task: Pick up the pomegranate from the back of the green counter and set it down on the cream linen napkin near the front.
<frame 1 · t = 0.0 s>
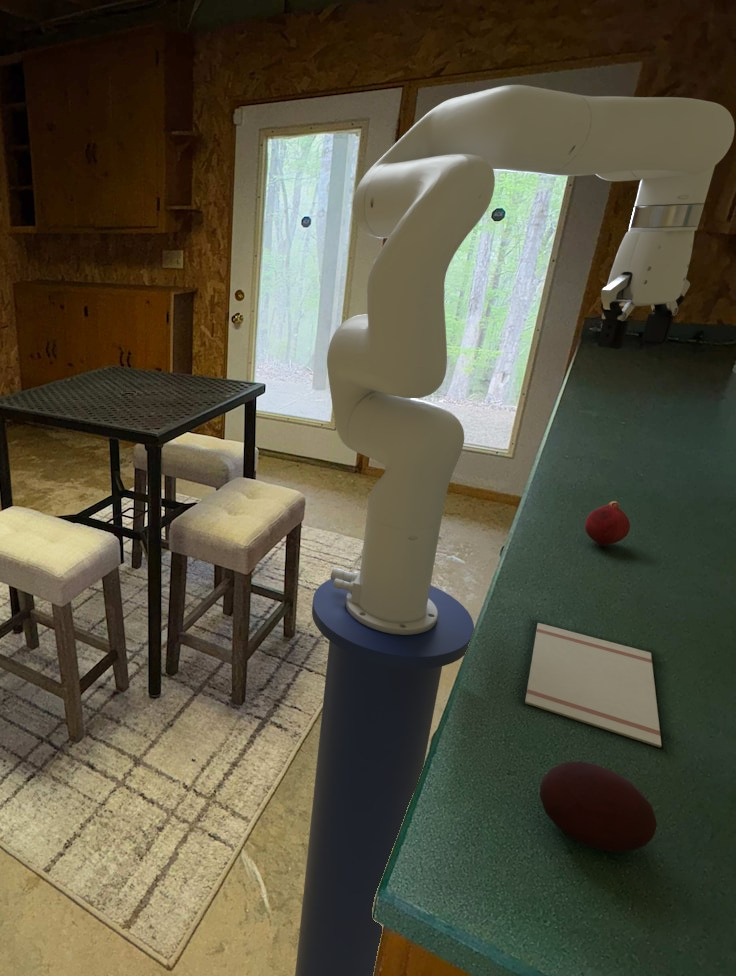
hand: (631, 344, 92), 33 cm above the kitchen counter, tool pointing down, fingers open, 9 cm apart
napkin: (590, 677, 74), on the kitchen counter
pomegranate: (600, 546, 103), on the kitchen counter
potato: (586, 829, 55), on the kitchen counter
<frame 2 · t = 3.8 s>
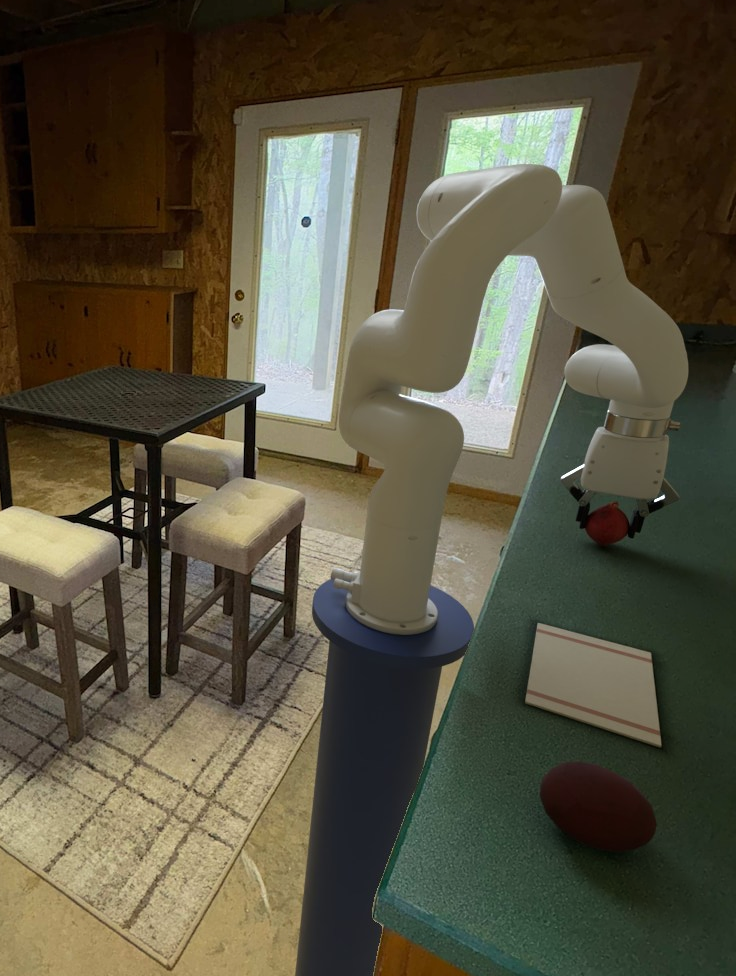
hand: (605, 529, 102), 3 cm above the kitchen counter, tool pointing down, fingers closed on pomegranate, 5 cm apart
pomegranate: (600, 546, 103), on the kitchen counter, touching gripper
everything else where it was.
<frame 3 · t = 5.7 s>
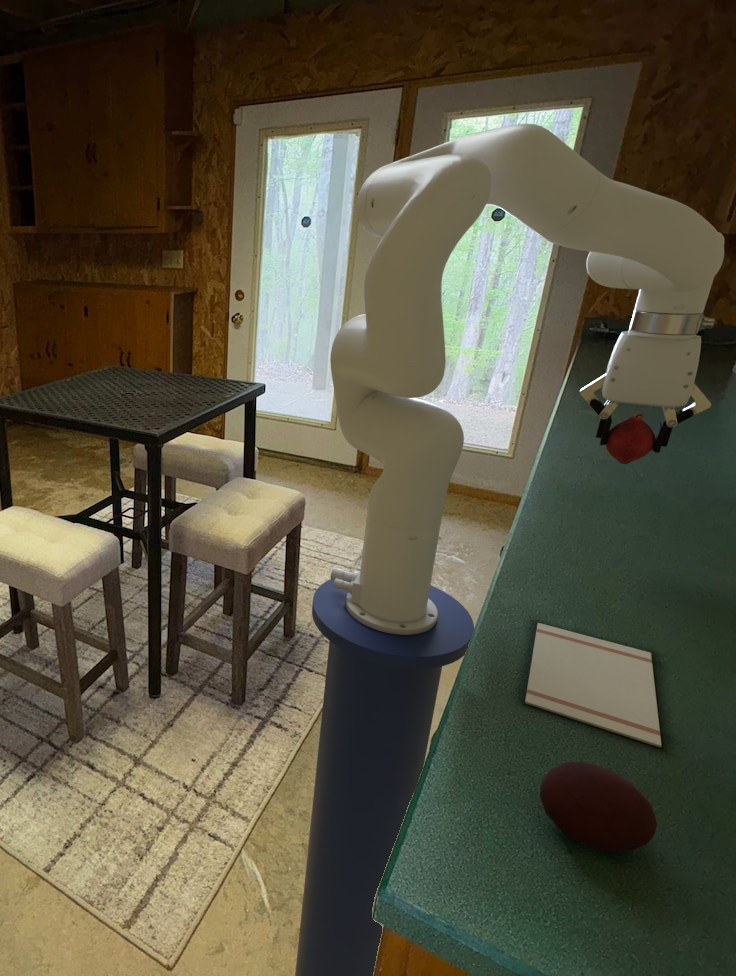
hand: (628, 445, 94), 19 cm above the kitchen counter, tool pointing down, fingers closed on pomegranate, 5 cm apart
pomegranate: (622, 465, 95), point 15 cm above the kitchen counter, touching gripper
everything else where it was.
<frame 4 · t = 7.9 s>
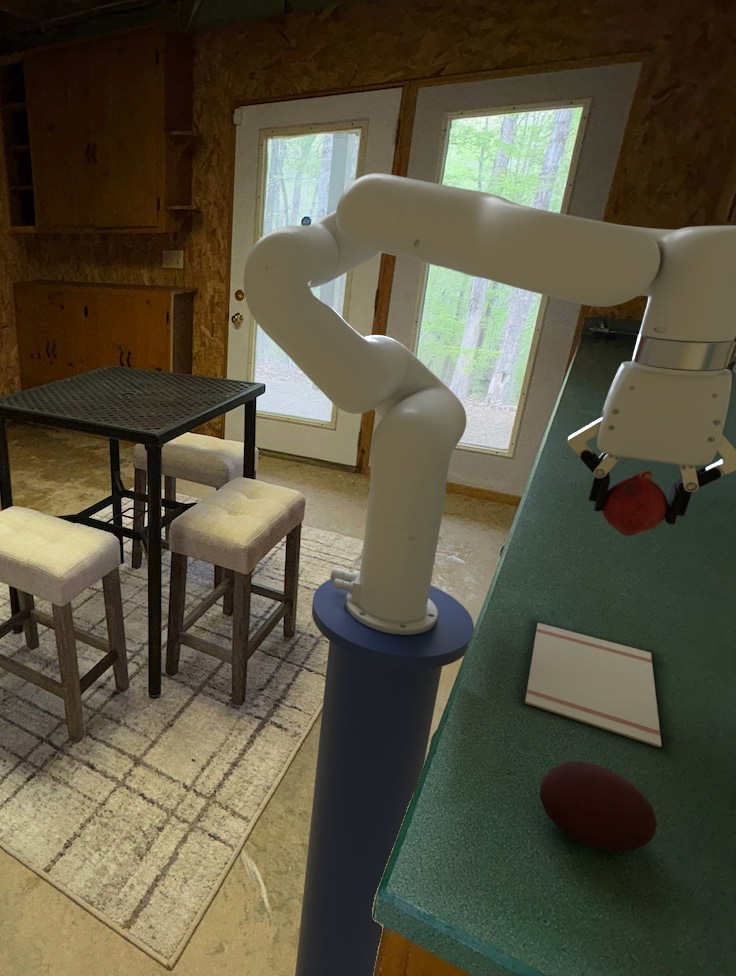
hand: (632, 511, 71), 19 cm above the kitchen counter, tool pointing down, fingers closed on pomegranate, 5 cm apart
pomegranate: (624, 536, 72), point 16 cm above the kitchen counter, touching gripper
everything else where it was.
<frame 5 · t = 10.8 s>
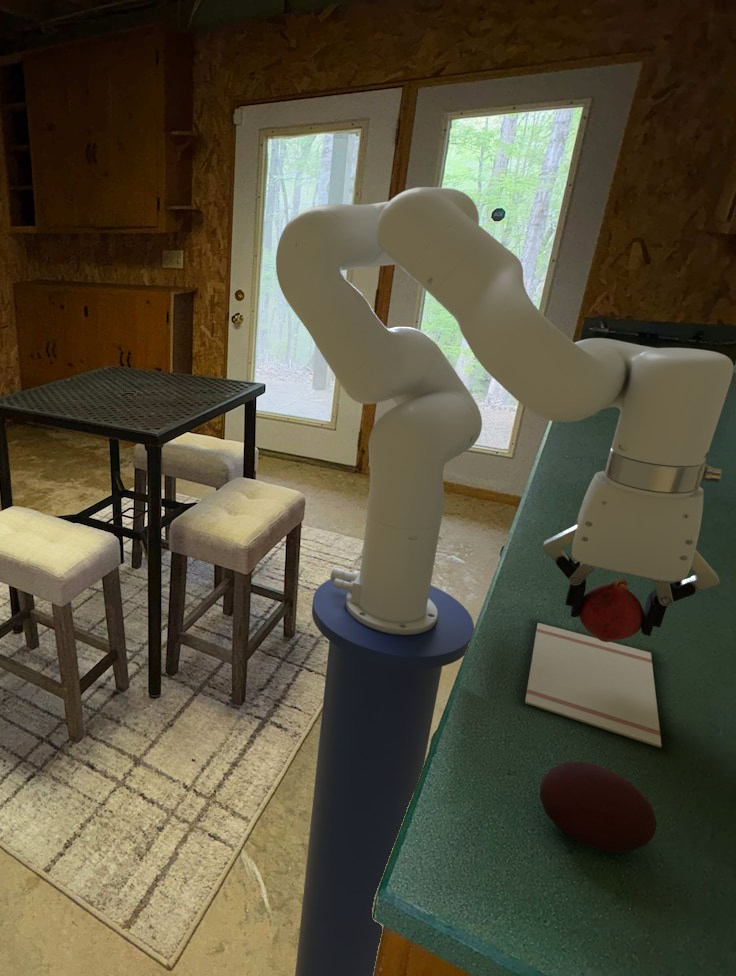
hand: (609, 618, 70), 8 cm above the kitchen counter, tool pointing down, fingers closed on pomegranate, 5 cm apart
pomegranate: (602, 642, 72), point 5 cm above the kitchen counter, touching gripper
everything else where it was.
when the fingers open (3 cm above the kitchen counter, at t = 12.5 s): pomegranate stays where it is, resting on napkin.
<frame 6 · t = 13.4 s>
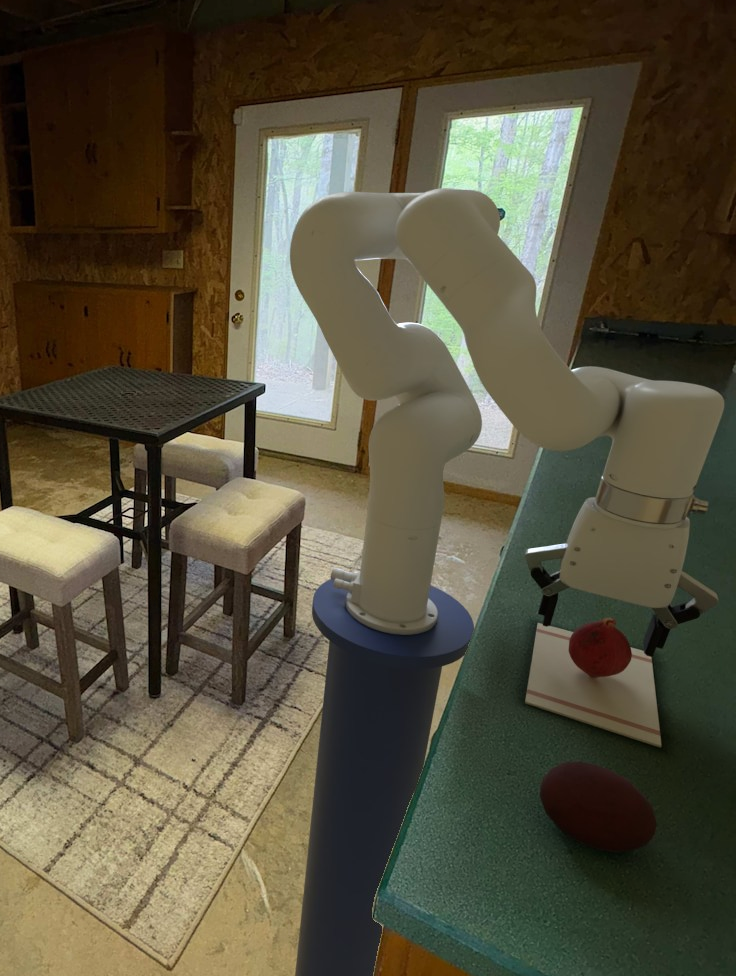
hand: (595, 634, 72), 6 cm above the kitchen counter, tool pointing down, fingers open, 9 cm apart
pomegranate: (590, 677, 73), resting on napkin
everything else where it was.
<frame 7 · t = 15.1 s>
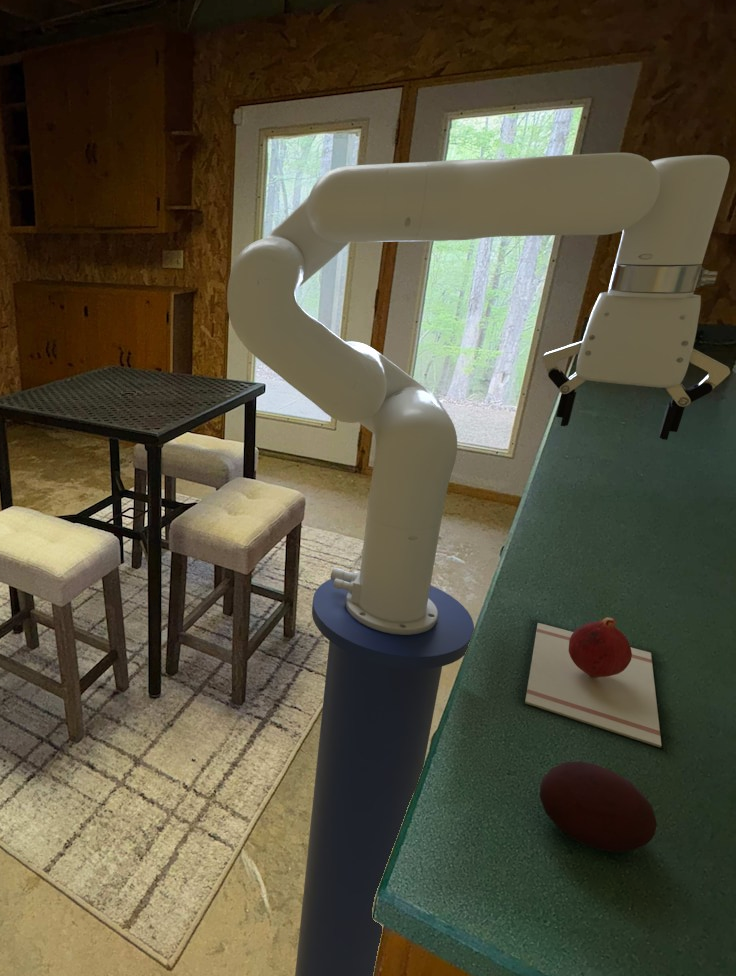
hand: (612, 429, 75), 27 cm above the kitchen counter, tool pointing down, fingers open, 9 cm apart
nothing on the kitchen counter moved.
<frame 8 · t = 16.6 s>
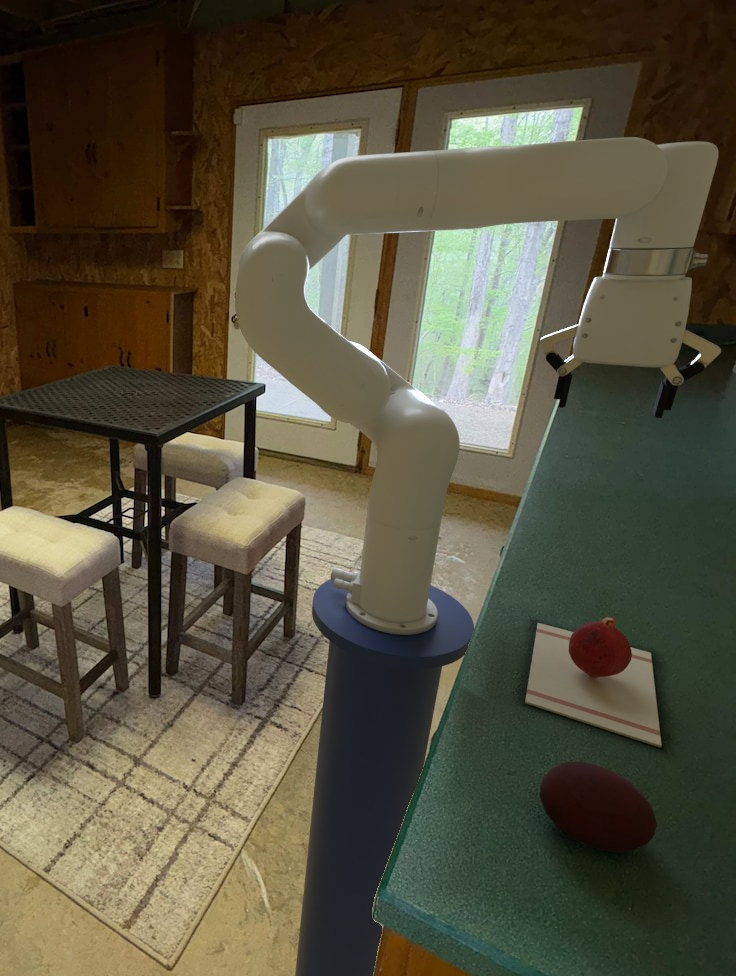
hand: (607, 410, 77), 28 cm above the kitchen counter, tool pointing down, fingers open, 9 cm apart
nothing on the kitchen counter moved.
at the end: pomegranate inside the target area on the napkin (0.0 cm from its centre), point 0.1 cm above the napkin's base; the gripper is holding nothing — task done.
